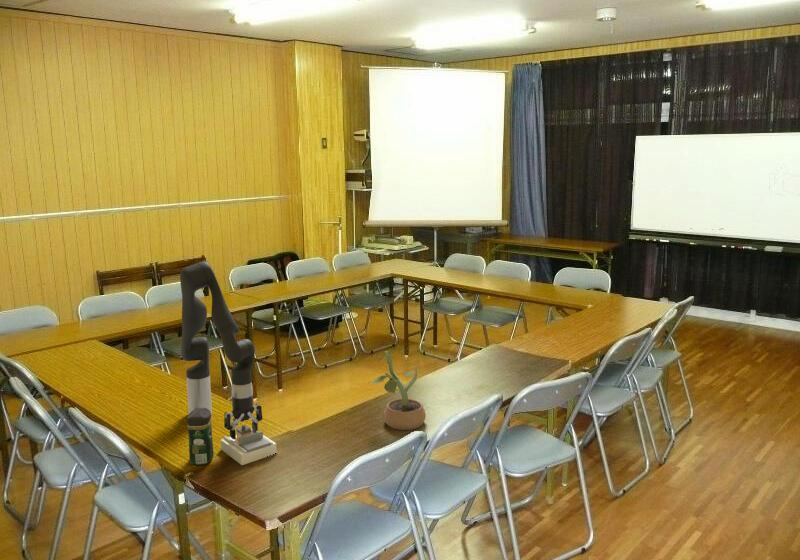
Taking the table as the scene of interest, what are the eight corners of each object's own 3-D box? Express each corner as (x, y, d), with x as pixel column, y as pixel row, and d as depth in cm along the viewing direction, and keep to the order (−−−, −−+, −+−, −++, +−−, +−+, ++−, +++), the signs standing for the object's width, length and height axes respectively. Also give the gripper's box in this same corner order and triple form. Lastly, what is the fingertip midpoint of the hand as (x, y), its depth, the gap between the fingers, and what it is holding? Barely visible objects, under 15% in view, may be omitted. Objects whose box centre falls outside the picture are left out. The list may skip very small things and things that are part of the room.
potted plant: (426, 414, 285) (427, 345, 279) (424, 432, 267) (425, 359, 261) (372, 412, 286) (372, 344, 280) (367, 430, 269) (367, 357, 263)
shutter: (239, 445, 245) (238, 437, 245) (261, 438, 251) (261, 430, 250) (247, 451, 241) (247, 443, 240) (270, 444, 246) (270, 436, 246)
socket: (221, 449, 252) (220, 437, 251) (255, 439, 261) (254, 427, 260) (241, 465, 240) (241, 452, 239) (276, 453, 249) (276, 441, 248)
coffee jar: (193, 454, 248) (190, 406, 244) (215, 453, 249) (212, 405, 245) (187, 466, 239) (183, 416, 235) (210, 465, 239) (207, 416, 236)
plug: (237, 448, 253) (236, 425, 251) (247, 445, 255) (245, 422, 253) (242, 452, 250) (241, 429, 248) (252, 449, 252) (251, 426, 250)
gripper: (229, 401, 241) (231, 444, 244) (264, 392, 250) (266, 433, 253) (219, 395, 246) (221, 437, 250) (254, 386, 255) (256, 427, 259)
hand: (244, 435), depth 251 cm, fingers open, 8 cm apart
